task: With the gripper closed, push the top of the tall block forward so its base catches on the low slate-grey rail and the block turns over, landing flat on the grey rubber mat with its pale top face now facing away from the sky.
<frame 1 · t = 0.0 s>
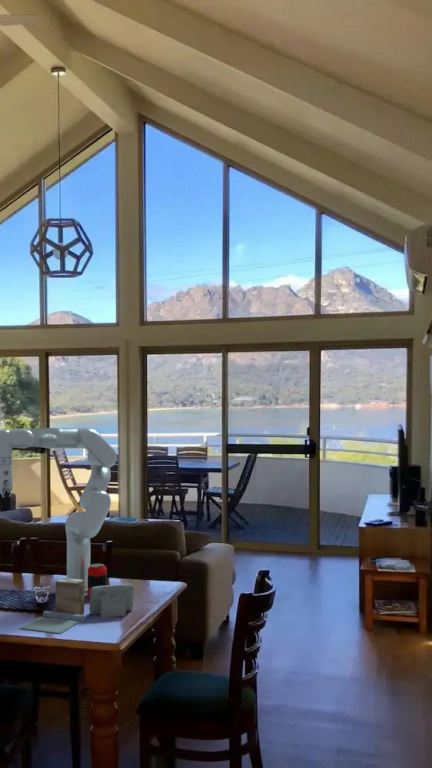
hand: (1, 506, 252), 37 cm above the table, tool pointing down, fingers open, 9 cm apart
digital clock: (111, 613, 238), on the table
rail: (63, 617, 233), on the table
soda can: (97, 596, 261), on the table
mat: (49, 625, 225), on the table
block: (69, 614, 237), on the table
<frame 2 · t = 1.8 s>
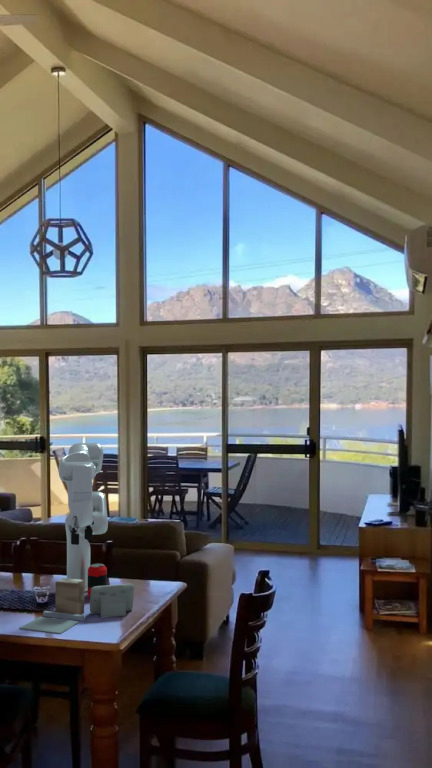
hand: (81, 541, 246), 24 cm above the table, tool pointing down, fingers open, 9 cm apart
nothing on the table moved.
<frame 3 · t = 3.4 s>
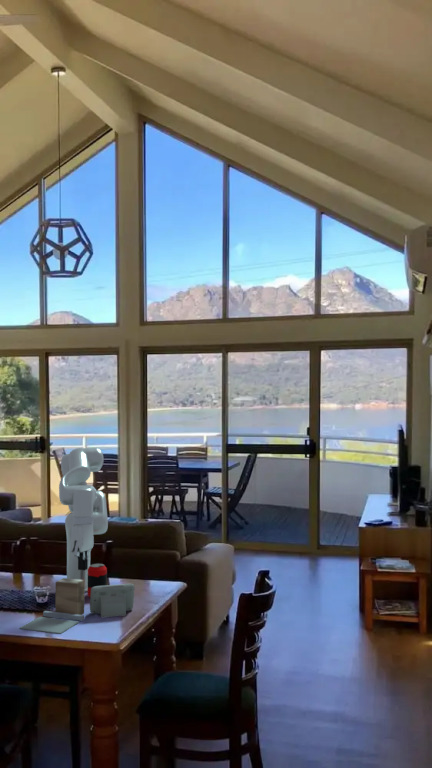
hand: (82, 569, 246), 14 cm above the table, tool pointing down, fingers closed
nothing on the table moved.
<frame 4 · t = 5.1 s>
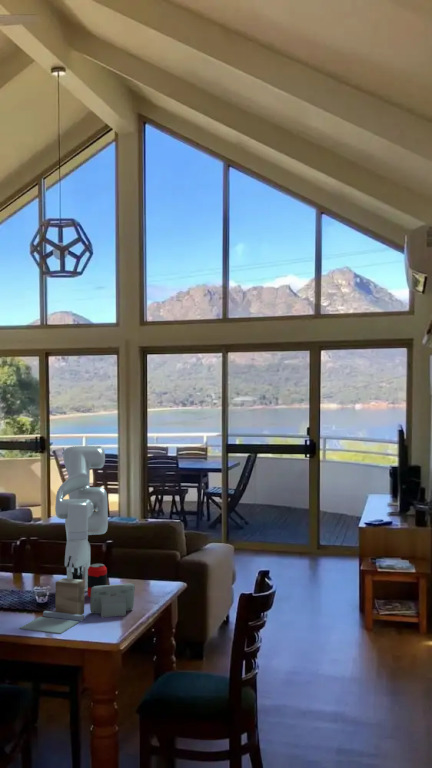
hand: (77, 585, 242), 9 cm above the table, tool pointing down, fingers closed
nothing on the table moved.
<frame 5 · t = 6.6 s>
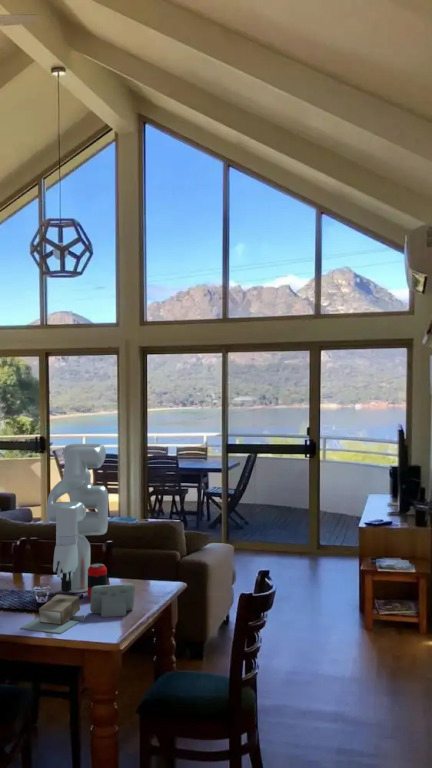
hand: (66, 590, 235), 9 cm above the table, tool pointing down, fingers closed
block: (68, 601, 237), point 5 cm above the table, tilted 99°, touching mat, rail
everything else where it was.
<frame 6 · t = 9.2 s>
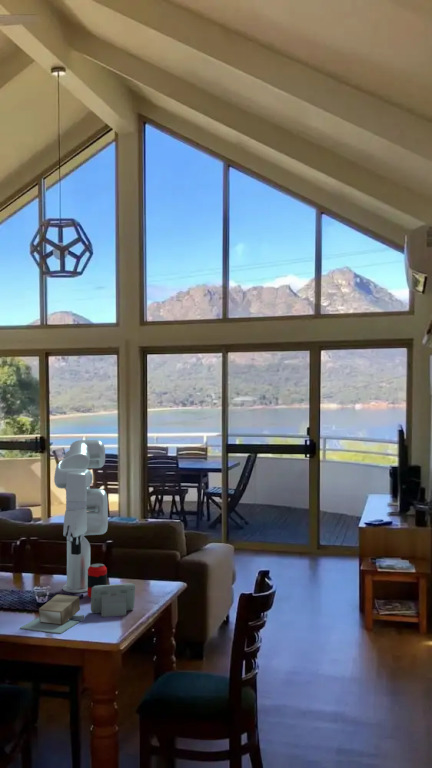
hand: (76, 554, 242), 21 cm above the table, tool pointing down, fingers closed
nothing on the table moved.
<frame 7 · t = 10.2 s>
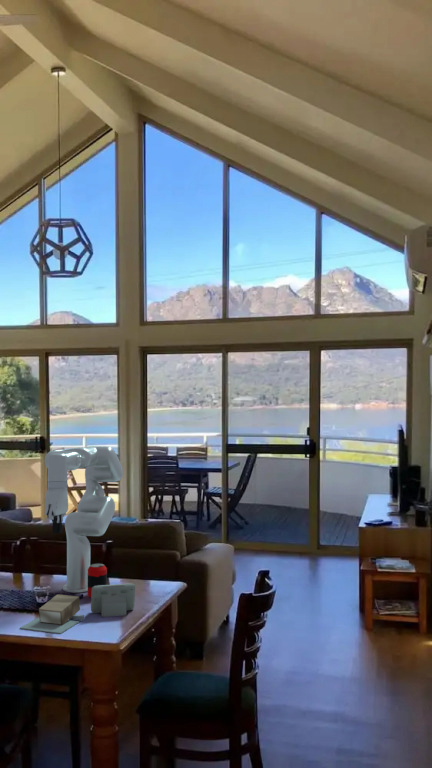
hand: (57, 532, 251), 27 cm above the table, tool pointing down, fingers closed
nothing on the table moved.
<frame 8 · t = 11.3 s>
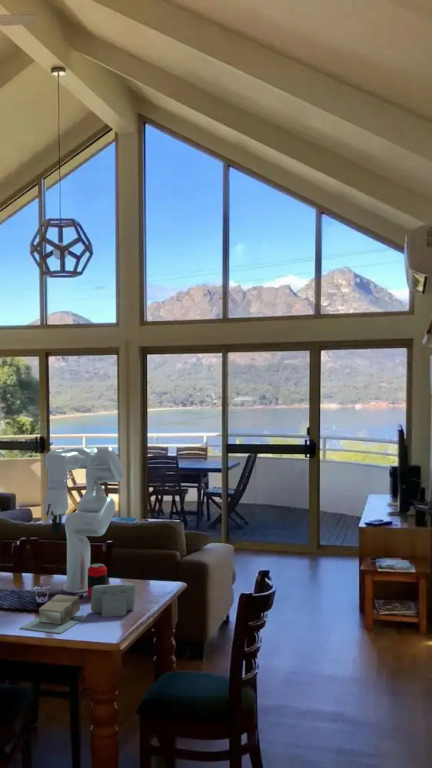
hand: (56, 532, 251), 27 cm above the table, tool pointing down, fingers closed
nothing on the table moved.
at the end: block tilted 99°; block inside the target area (8.7 cm from its centre), point 4.7 cm above the table; block moved 4.7 cm from its start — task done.
